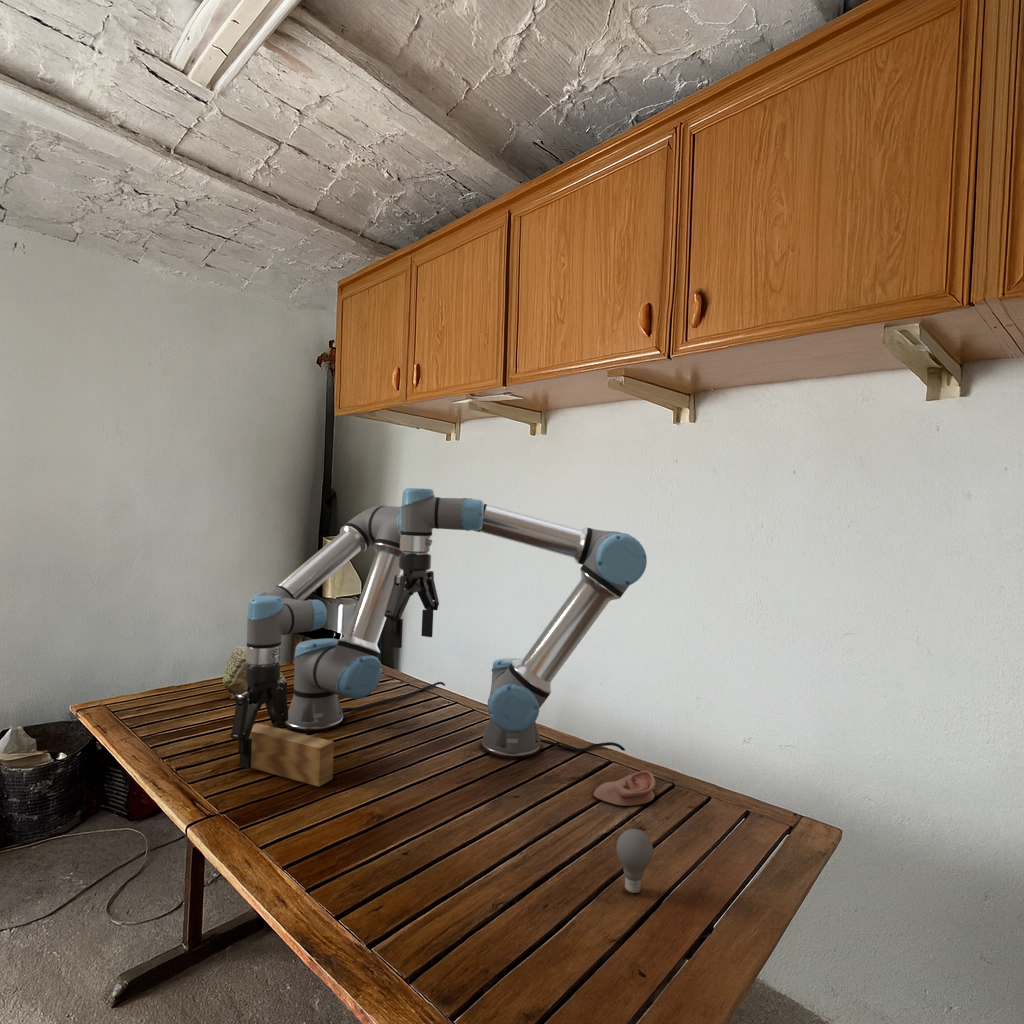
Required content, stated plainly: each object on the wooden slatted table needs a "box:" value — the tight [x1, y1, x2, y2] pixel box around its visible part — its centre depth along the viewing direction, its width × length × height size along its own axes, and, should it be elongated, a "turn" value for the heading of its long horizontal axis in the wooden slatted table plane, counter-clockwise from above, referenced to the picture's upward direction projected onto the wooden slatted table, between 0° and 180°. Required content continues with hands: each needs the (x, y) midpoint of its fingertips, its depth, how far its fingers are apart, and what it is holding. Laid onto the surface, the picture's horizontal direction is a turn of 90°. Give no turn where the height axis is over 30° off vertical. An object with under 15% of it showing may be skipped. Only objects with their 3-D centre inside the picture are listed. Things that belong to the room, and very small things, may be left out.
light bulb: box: [615, 828, 654, 894], centre depth 106 cm, size 6×6×10 cm
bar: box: [244, 722, 335, 788], centre depth 145 cm, size 23×4×8 cm, turn 66°
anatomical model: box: [593, 770, 656, 807], centre depth 141 cm, size 13×4×12 cm
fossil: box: [222, 646, 287, 699], centre depth 198 cm, size 9×18×15 cm, turn 132°
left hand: (259, 759), depth 148 cm, fingers open, 8 cm apart
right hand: (411, 641), depth 151 cm, fingers open, 13 cm apart
